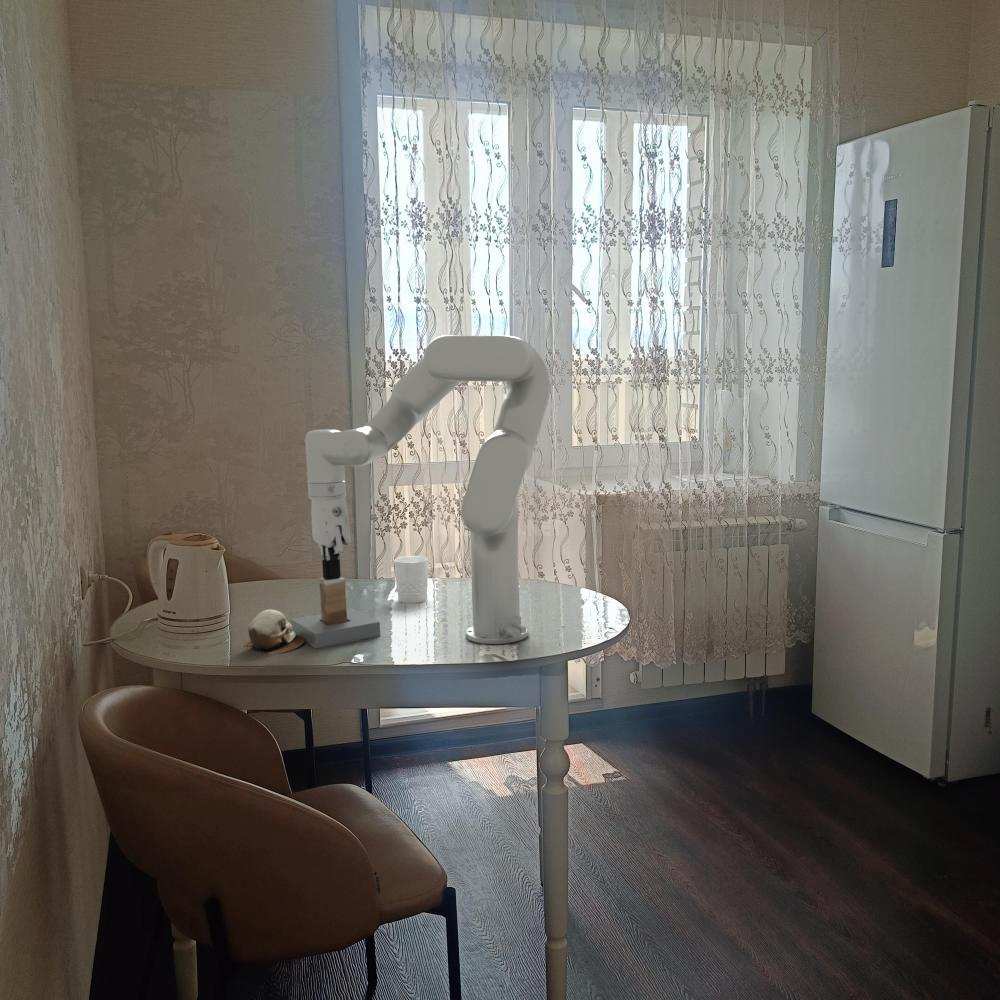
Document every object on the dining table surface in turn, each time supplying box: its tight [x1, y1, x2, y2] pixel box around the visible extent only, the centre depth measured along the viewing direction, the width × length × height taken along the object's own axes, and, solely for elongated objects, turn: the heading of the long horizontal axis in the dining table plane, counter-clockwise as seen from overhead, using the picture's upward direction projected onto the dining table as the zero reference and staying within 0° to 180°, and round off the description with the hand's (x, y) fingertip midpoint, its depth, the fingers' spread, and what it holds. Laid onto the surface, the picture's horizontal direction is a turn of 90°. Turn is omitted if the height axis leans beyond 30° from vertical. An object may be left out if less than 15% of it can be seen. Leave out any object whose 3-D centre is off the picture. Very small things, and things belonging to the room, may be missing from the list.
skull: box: [243, 608, 305, 655], centre depth 183 cm, size 12×10×10 cm
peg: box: [318, 576, 347, 625], centre depth 189 cm, size 4×4×12 cm
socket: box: [290, 607, 381, 649], centre depth 189 cm, size 14×14×3 cm
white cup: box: [393, 555, 429, 604], centre depth 216 cm, size 8×8×10 cm
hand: (331, 578), depth 188 cm, fingers closed
